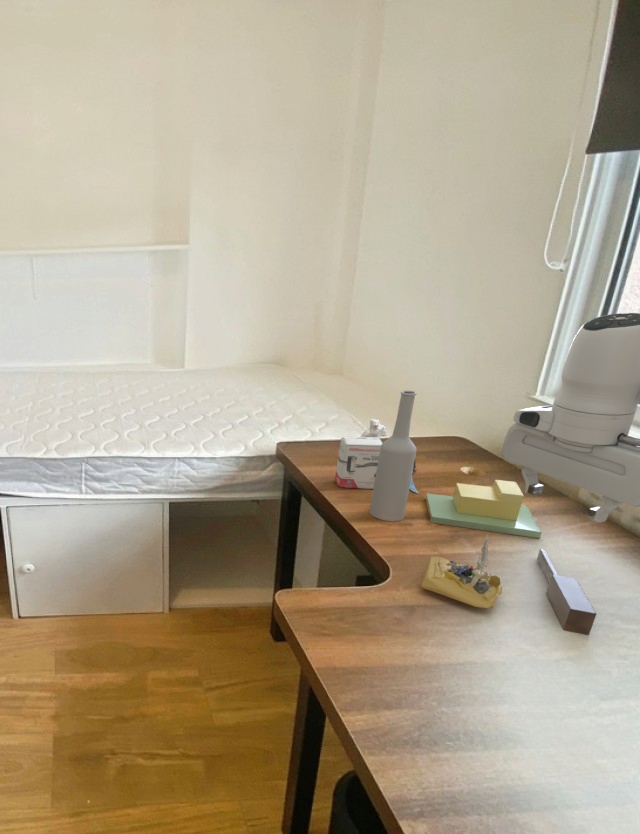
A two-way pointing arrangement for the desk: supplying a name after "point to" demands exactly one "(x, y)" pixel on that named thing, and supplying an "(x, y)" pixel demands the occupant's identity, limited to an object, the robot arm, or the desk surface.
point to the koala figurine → (375, 430)
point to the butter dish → (480, 518)
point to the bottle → (395, 466)
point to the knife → (412, 481)
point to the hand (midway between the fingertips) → (562, 506)
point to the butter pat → (508, 491)
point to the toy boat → (463, 580)
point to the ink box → (358, 462)
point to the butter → (483, 502)
